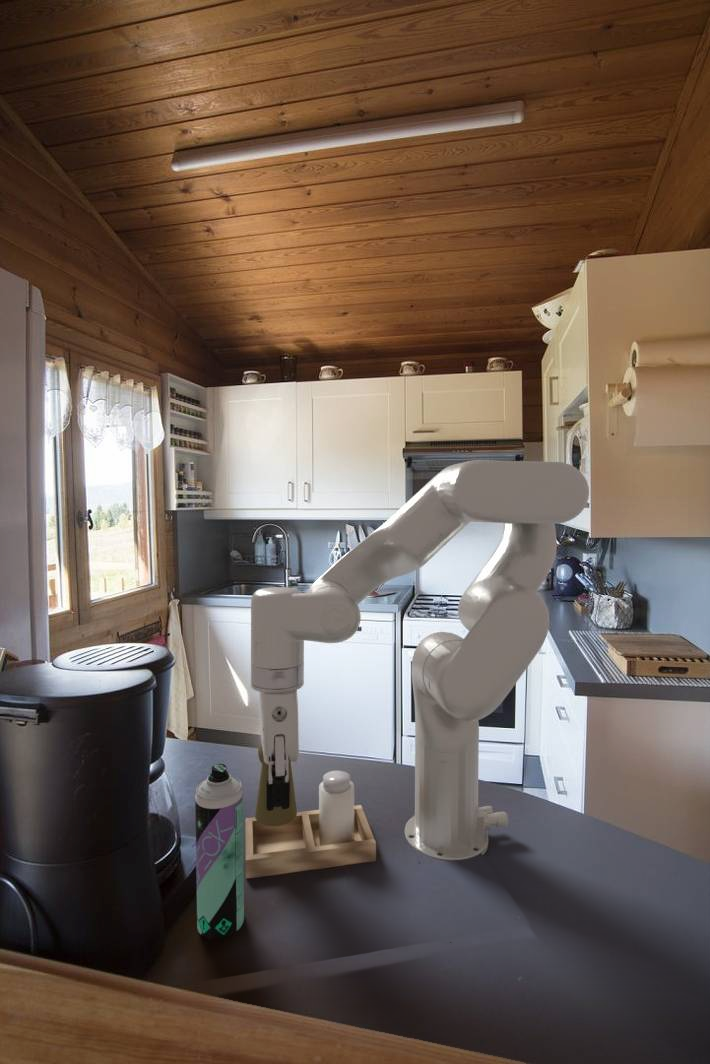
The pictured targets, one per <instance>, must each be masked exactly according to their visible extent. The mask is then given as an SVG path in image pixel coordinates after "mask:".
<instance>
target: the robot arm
mask: <svg viewBox="0 0 710 1064" xmlns="http://www.w3.org/2000/svg"><path fill="white" fill-rule="evenodd" d="M589 496H590V487H589V484H588V481H587V479H586V477H585V475H584V474H583V473H582V472H581V471H580V470H579V469H578V468H577V467H575V466H573V465H572V464H569V463H566V462H562V461H531V460H530V461H527V460H499V459H498V460H495V459H493V460H492V459H475V460H468V461H463V462H459V463H454V464H452V465H448V466H446V467H445V468H444V469H443V468H442V470H441V471H439V472H438V473H437V474H436V475H434V476H433V477H432V479H430V480H429V481H428V482H427V483H426V484H425V485H424V486H422V488H421V489H420V490H418V492H416V493H415V494H414V495H413V496H412V497H411V498H410V499H409V500H408V501H407V502H405V504H403V505H402V507H400V508H399V509H398V510H397V511H396V512H395V513H393V514H392V515H391V516H390V517H389V518H388V519H386V521H385V522H384V523H382V524H381V525H380V526H379V527H378V528H376V529H375V530H373V531H372V532H371V533H370V534H369V535H367V536H366V537H365V538H364V539H363V540H362V541H361V542H359V543H358V544H356V545H355V546H354V547H353V548H352V549H350V550H349V551H348V552H347V553H345V554H344V555H343V556H341V557H340V558H339V559H338V560H337V561H336V562H335V563H334V564H333V565H332V566H331V567H329V569H328V570H326V571H325V572H324V573H323V574H322V575H321V576H320V577H319V578H318V579H316V580H315V581H314V582H313V584H312V585H310V587H309V588H308V589H307V591H306V592H305V593H303V592H302V591H300V590H299V589H297V588H293V587H287V586H273V587H264V588H259V589H257V590H256V591H255V592H253V594H252V597H251V599H250V687H251V689H253V690H254V691H256V692H259V695H258V696H259V729H260V739H261V742H262V750H263V756H264V762H265V763H266V764H268V781H266V807H267V810H268V811H271V810H273V808H274V807H282V809H288V808H289V807H290V779H289V771H288V762H289V760H288V756H289V758H290V760H291V762H294V763H297V762H298V761H299V760H300V747H299V746H300V743H299V739H300V738H299V736H300V735H299V734H300V733H299V732H300V731H299V706H298V705H299V698H298V690H299V689H301V688H302V687H303V686H304V684H305V681H304V680H305V678H304V677H305V671H304V670H305V661H304V660H305V654H304V653H305V641H306V642H308V641H309V642H314V643H315V642H316V643H321V644H323V643H324V644H339V643H342V642H345V641H347V640H349V639H350V638H352V637H353V636H354V635H355V634H356V632H357V631H358V629H359V627H360V625H361V618H362V617H361V610H360V607H359V604H360V603H361V602H363V601H364V599H366V598H367V597H368V596H369V595H370V594H371V593H373V592H374V591H376V589H378V588H380V587H381V586H382V585H384V584H385V583H387V582H389V581H391V580H393V579H395V578H398V577H403V576H405V575H409V574H410V573H413V572H415V571H417V570H419V569H420V568H422V567H424V566H425V565H426V564H427V563H428V562H429V561H430V560H431V559H432V558H433V557H434V556H435V555H436V554H437V553H439V551H440V550H442V549H443V548H444V546H446V545H447V544H448V543H449V542H450V541H451V540H452V539H453V538H454V537H455V536H456V535H457V534H459V533H460V531H462V530H463V529H464V528H465V527H466V526H468V524H470V523H471V522H475V523H493V524H503V529H502V530H503V531H502V536H501V539H500V540H499V543H498V544H497V546H496V548H495V550H494V551H493V553H492V554H491V556H490V557H489V559H488V560H487V561H486V563H485V564H484V566H482V568H481V569H480V571H479V572H478V574H476V576H475V577H474V579H473V580H472V581H471V583H470V584H469V586H468V587H466V589H465V591H464V592H463V594H462V596H460V599H459V601H458V605H457V614H458V619H459V620H460V623H461V624H462V626H463V627H465V629H466V630H467V631H468V632H467V634H466V635H465V637H464V638H463V637H461V636H460V635H458V634H455V633H453V632H448V631H447V632H446V631H438V632H433V633H431V634H429V635H427V636H425V637H424V638H423V639H422V640H420V642H419V643H418V644H417V646H416V648H415V650H414V652H413V654H412V659H411V660H412V661H411V680H412V690H413V691H412V693H413V700H414V701H413V703H414V719H415V720H414V721H415V723H414V725H415V726H414V731H415V732H414V733H415V734H414V736H415V737H414V742H415V744H414V815H412V816H411V817H410V818H409V820H408V821H407V822H406V824H405V826H404V836H405V839H406V840H407V842H408V844H409V845H410V846H411V847H413V848H414V849H415V850H416V851H418V852H420V853H421V854H423V855H425V856H428V857H431V858H433V859H438V860H444V861H462V860H467V859H468V860H469V859H471V858H474V857H476V856H479V855H480V854H481V855H482V856H484V855H485V853H486V852H487V850H488V849H489V834H488V831H490V829H491V827H492V828H493V827H496V828H497V827H504V826H509V822H510V821H509V816H508V814H507V813H506V811H498V812H494V810H493V807H492V806H491V805H485V806H484V805H483V806H479V758H480V757H479V754H480V752H479V749H480V748H479V746H480V726H479V725H480V723H479V720H482V719H484V718H485V717H487V716H489V715H491V714H492V713H493V712H494V711H495V710H496V709H497V708H498V707H499V706H500V705H501V704H502V703H503V701H504V700H505V699H506V698H507V696H508V695H509V694H510V692H511V691H512V690H513V688H514V687H515V685H516V684H517V682H518V681H519V679H520V678H521V677H522V675H523V674H524V673H525V671H526V670H527V669H528V667H529V666H530V664H531V663H532V661H534V659H535V657H536V656H537V654H538V653H539V652H540V650H541V648H542V646H543V645H544V643H545V640H546V638H547V636H548V633H549V627H550V612H549V609H548V606H547V604H546V602H545V600H544V599H543V597H542V596H541V595H540V594H539V593H538V591H539V589H540V587H541V586H542V585H543V584H544V581H545V580H546V577H547V576H548V575H549V573H550V571H551V570H552V568H553V567H554V566H553V565H554V564H555V561H556V556H557V549H558V547H557V546H558V545H557V544H558V543H557V532H556V525H555V524H563V523H567V522H569V521H571V520H574V519H575V518H577V517H578V516H579V515H581V513H582V512H583V511H584V509H585V508H586V506H587V504H588V501H589ZM274 739H275V745H274ZM261 742H260V743H261ZM284 755H285V758H284ZM271 756H275V760H271ZM272 765H275V769H273V772H272ZM475 849H476V850H475ZM438 854H439V855H438ZM440 854H441V855H440Z"/></svg>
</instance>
